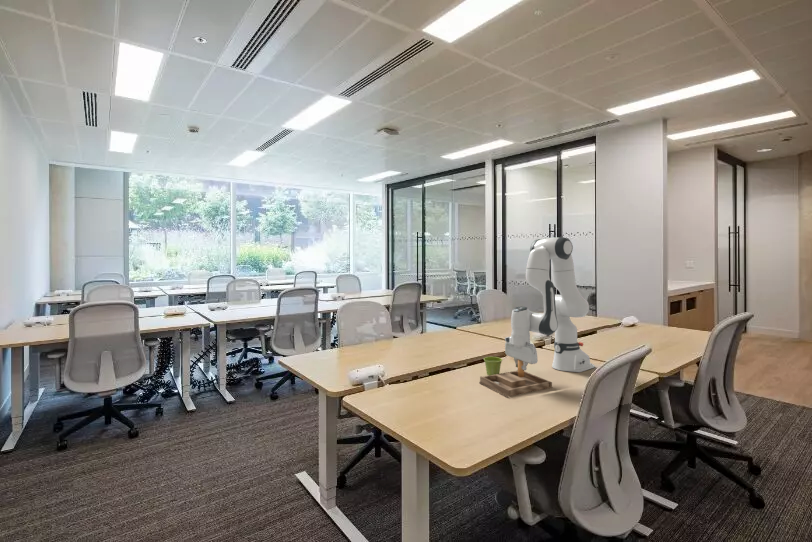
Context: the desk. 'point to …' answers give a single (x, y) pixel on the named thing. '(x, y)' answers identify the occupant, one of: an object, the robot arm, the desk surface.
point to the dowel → (520, 369)
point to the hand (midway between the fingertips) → (521, 368)
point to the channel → (514, 383)
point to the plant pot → (492, 365)
